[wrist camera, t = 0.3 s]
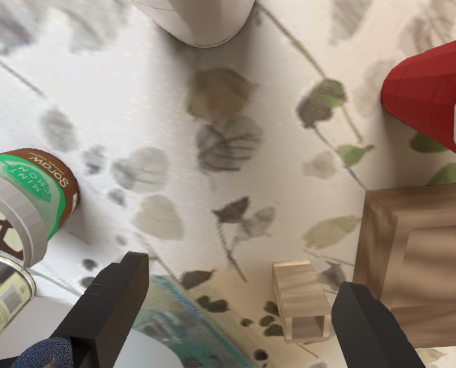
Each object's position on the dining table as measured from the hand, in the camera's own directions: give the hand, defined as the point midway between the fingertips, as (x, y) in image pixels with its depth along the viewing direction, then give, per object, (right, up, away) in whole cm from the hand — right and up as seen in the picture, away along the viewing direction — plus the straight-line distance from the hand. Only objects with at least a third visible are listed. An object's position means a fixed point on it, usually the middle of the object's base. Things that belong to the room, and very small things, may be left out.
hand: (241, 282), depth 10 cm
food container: (-21, +6, +18) cm, 29 cm away
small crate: (+8, -9, +25) cm, 28 cm away
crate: (+28, -5, +23) cm, 37 cm away
